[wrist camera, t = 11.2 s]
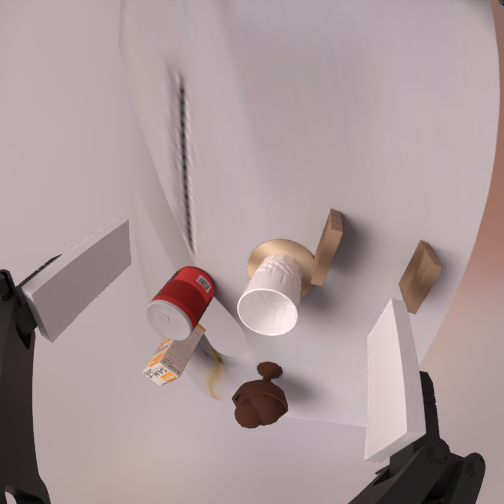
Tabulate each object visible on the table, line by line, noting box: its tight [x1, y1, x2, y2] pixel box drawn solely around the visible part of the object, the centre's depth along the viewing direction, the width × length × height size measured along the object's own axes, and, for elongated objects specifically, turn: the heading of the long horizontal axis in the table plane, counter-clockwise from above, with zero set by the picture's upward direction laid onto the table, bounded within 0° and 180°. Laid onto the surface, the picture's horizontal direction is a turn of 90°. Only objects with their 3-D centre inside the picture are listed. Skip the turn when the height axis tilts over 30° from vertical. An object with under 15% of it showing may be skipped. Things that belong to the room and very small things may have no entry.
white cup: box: [237, 254, 302, 336], centre depth 40 cm, size 8×8×10 cm
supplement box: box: [142, 323, 205, 386], centre depth 51 cm, size 8×5×13 cm, turn 137°
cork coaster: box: [247, 239, 314, 298], centre depth 44 cm, size 11×11×1 cm
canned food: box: [146, 266, 215, 341], centre depth 46 cm, size 8×8×11 cm
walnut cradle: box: [311, 209, 443, 314], centre depth 36 cm, size 8×16×7 cm, turn 79°
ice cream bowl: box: [232, 362, 288, 428], centre depth 50 cm, size 11×11×15 cm
